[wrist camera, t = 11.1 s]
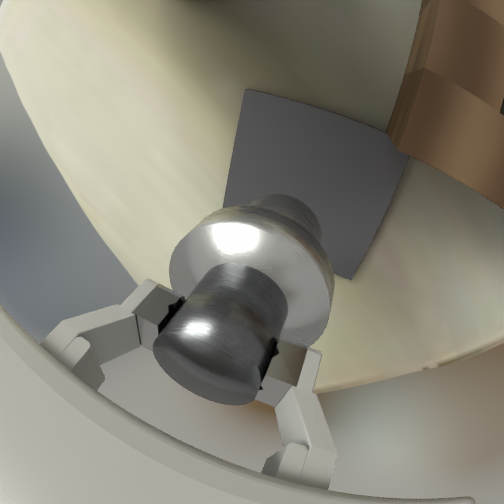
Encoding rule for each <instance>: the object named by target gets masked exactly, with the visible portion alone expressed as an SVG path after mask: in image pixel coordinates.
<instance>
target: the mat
mask: <svg viewBox="0 0 504 504" xmlns="http://www.w3.org/2000/svg"><path fill="white" fill-rule="evenodd" d="M409 156H410V155H408V154H406V153H403V152H401V151H399V150H397V148H396V147H395V145H394V144H393V142H392V141H391V139H390V138H389V136H388V135H387V133H386V132H384V131H381V130H379V129H376V128H374V127H372V126H369V125H367V124H364V123H361V122H359V121H356V120H353V119H351V118H348V117H345V116H342V115H340V114H337V113H334V112H331V111H328V110H325V109H322V108H319V107H315V106H312V105H309V104H306V103H302V102H299V101H295V100H292V99H288V98H284V97H280V96H276V95H272V94H268V93H264V92H260V91H255V90H251V89H245V93H244V98H243V103H242V108H241V112H240V117H239V122H238V127H237V132H236V137H235V143H234V148H233V153H232V158H231V164H230V169H229V175H228V180H227V186H226V191H225V197H224V203H223V208H227V207H232V206H249V205H250V204H251V203H252V202H253V201H254V200H256V199H258V198H259V197H262V196H265V195H269V194H283V195H288V196H291V197H294V198H296V199H298V200H300V201H302V202H303V203H304V204H306V205H307V206H308V207H309V208H310V209H311V210H312V211H313V212H314V214H315V215H316V217H317V219H318V221H319V223H320V226H321V231H322V241H321V246H322V247H323V249H324V251H325V252H326V254H327V256H328V258H329V260H330V263H331V265H332V269H333V273H334V274H336V275H339V276H341V277H344V278H347V279H349V280H351V279H352V277H353V276H354V274H355V272H356V270H357V268H358V266H359V264H360V263H361V261H362V259H363V257H364V255H365V253H366V251H367V249H368V247H369V245H370V243H371V241H372V239H373V237H374V235H375V233H376V231H377V229H378V227H379V225H380V223H381V221H382V219H383V216H384V214H385V212H386V210H387V208H388V206H389V203H390V201H391V199H392V197H393V194H394V192H395V190H396V188H397V185H398V183H399V181H400V178H401V176H402V173H403V171H404V169H405V166H406V164H407V161H408V159H409Z"/></svg>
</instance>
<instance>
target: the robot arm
mask: <svg viewBox="0 0 504 504" xmlns="http://www.w3.org/2000/svg"><path fill="white" fill-rule="evenodd" d="M184 301H185V297H184V296H182V295H180V294H178V293H176V292H174V291H172V290H171V289H169V288H167V287H165V286H163V285H161V284H159V283H157V282H155V281H153V280H151V279H147V280H145V281H143V282H142V283H141V284H140V286H139V287H138V288H137V289H136V290H135V291H134V292H133V293H132V294H131V295H130V296H129V297H128V298H127V299H126V300H125V301H124V302H123V303H122V304H121V305H120V306H119V305H113V306H110V307H106V308H103V309H100V310H96V311H93V312H90V313H86V314H83V315H80V316H77V317H74V318H70V319H67V320H63V321H62V322H61V323H60V324H59V325H58V326H57V327H56V328H55V329H54V330H53V331H52V332H51V333H50V334H49V335H48V336H47V337H46V338H45V339H44V340H43V341H42V342H41V343H40V344H38V343H37V342H36V341H35V340H34V339H33V338H32V337H31V336H30V335H29V334H28V333H27V332H26V331H25V330H24V329H23V328H22V327H21V326H20V325H19V324H18V323H17V322H16V321H15V320H14V319H13V318H12V317H11V316H10V315H9V313H8V312H7V311H6V310H5V309H4V308H3V307H2V306H1V305H0V504H476V502H475V500H474V499H473V498H472V497H456V498H455V497H454V498H439V499H400V498H384V497H372V496H363V495H355V494H348V493H342V492H335V491H330V490H328V488H329V484H330V481H331V477H332V473H333V470H334V466H335V462H336V458H337V454H338V453H337V450H336V447H335V444H334V442H333V439H332V436H331V433H330V430H329V428H328V425H327V422H326V419H325V416H324V414H323V411H322V408H321V405H320V402H319V400H318V397H317V394H315V393H313V389H314V385H315V381H316V377H317V373H318V369H319V365H320V361H321V356H322V353H321V352H320V351H318V350H315V349H312V348H309V347H307V346H305V345H302V344H299V343H296V342H294V341H291V340H288V339H285V338H283V337H280V338H279V339H278V341H277V344H276V346H275V349H274V351H273V354H272V357H271V360H270V363H269V365H268V367H267V369H266V372H265V374H264V377H263V379H262V382H261V385H260V388H259V390H258V393H257V395H256V398H255V399H256V400H258V401H261V402H263V403H266V404H268V405H271V406H273V407H275V411H276V416H277V421H278V426H279V431H280V435H281V440H282V445H283V448H282V449H281V450H279V451H278V452H276V453H275V454H273V455H272V456H270V457H269V458H267V460H266V462H265V464H264V467H263V469H262V472H261V473H259V472H256V471H253V470H250V469H247V468H244V467H242V466H239V465H236V464H233V463H230V462H228V461H226V460H223V459H221V458H218V457H216V456H213V455H211V454H209V453H206V452H204V451H202V450H199V449H197V448H195V447H193V446H191V445H188V444H186V443H184V442H182V441H180V440H178V439H176V438H174V437H172V436H170V435H168V434H167V433H165V432H163V431H161V430H159V429H157V428H155V427H154V426H152V425H150V424H148V423H146V422H145V421H143V420H141V419H140V418H138V417H136V416H135V415H133V414H131V413H130V412H128V411H126V410H125V409H123V408H122V407H120V406H119V405H117V404H115V403H114V402H112V401H111V400H109V399H108V398H106V397H105V396H104V395H102V394H101V393H99V392H98V391H97V390H98V388H99V387H100V385H101V384H102V383H103V382H104V380H105V376H104V374H103V372H102V370H101V367H100V365H101V364H103V363H106V362H108V361H110V360H112V359H114V358H117V357H119V356H121V355H123V354H125V353H127V352H129V351H132V350H134V349H136V348H138V347H140V345H141V346H143V347H145V348H147V349H149V350H151V351H153V343H154V341H155V339H156V338H157V337H158V335H159V334H160V333H161V331H162V330H163V329H164V327H165V326H166V325H167V323H168V322H169V321H170V320H171V318H172V317H173V316H174V314H175V313H176V312H177V310H178V309H179V308H180V306H181V305H182V304H183V302H184Z"/></svg>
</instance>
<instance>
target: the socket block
mask: <svg viewBox="0 0 504 504" xmlns="http://www.w3.org/2000/svg"><path fill="white" fill-rule="evenodd" d="M503 99H504V0H422V5H421V10H420V15H419V20H418V24H417V28H416V33H415V37H414V41H413V45H412V49H411V53H410V56H409V60H408V64H407V67H406V71H405V74H404V78H403V81H402V84H401V88H400V91H399V94H398V97H397V101H396V104H395V107H394V110H393V113H392V116H391V119H390V122H389V125H388V128H387V131H386V133H387V135H388V136H389V138H390V139H391V141H392V142H393V144H394V145H395V147H396V148H397V150H399V151H401V152H403V153H406V154H408V155H410V156H412V157H414V158H416V159H418V160H420V161H422V162H424V163H426V164H428V165H430V166H432V167H434V168H436V169H438V170H440V171H441V172H443V173H445V174H447V175H449V176H451V177H452V178H454V179H456V180H458V181H459V182H461V183H463V184H465V185H466V186H468V187H470V188H471V189H473V190H475V191H476V192H478V193H479V194H481V195H483V196H484V197H486V198H487V199H489V200H490V201H492V202H493V203H495V204H496V205H498V206H499V207H501V208H502V209H504V115H502V114H501V113H500V109H501V106H502V102H503Z"/></svg>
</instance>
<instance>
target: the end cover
mask: <svg viewBox="0 0 504 504" xmlns="http://www.w3.org/2000/svg"><path fill="white" fill-rule="evenodd" d="M321 241H322V231H321V226H320V223H319V221H318V219H317V217H316V215H315V214H314V212H313V211H312V210H311V209H310V208H309V207H308V206H307V205H306V204H304V203H303V202H302V201H300V200H298V199H296V198H294V197H291V196H288V195H283V194H269V195H265V196H262V197H259V198H258V199H256V200H254V201H253V202H252V203H251V204H250V205H249V206H232V207H227V208H223V209H220V210H218V211H216V212H213V213H212V214H210V215H208V216H207V217H205V218H204V219H203V220H202V221H201V222H200V223H199V224H198V225H197V226H195V227H194V228H193V229H192V230H191V231H190V232H189V233H188V234H187V235H186V236H185V237H184V238H183V239H182V240H181V241H180V242H179V243H178V245H177V246H176V247H175V249H174V251H173V253H172V256H171V260H170V266H169V276H170V282H171V287H172V290H173V291H174V292H176V293H178V294H180V295H182V296H184V297H185V301H184V302H183V304H182V305H181V306H180V308H179V309H178V310H177V312H176V313H175V314H174V316H173V317H172V318H171V320H170V321H169V322H168V323H167V325H166V326H165V327H164V329H163V330H162V331H161V333H160V334H159V335H158V337H157V338H156V339H155V341H154V343H153V353H154V355H155V358H156V360H157V362H158V363H159V365H160V366H161V367H162V368H163V369H164V371H165V372H166V373H167V374H168V375H169V376H170V377H171V378H172V379H173V380H175V381H176V382H177V383H179V384H180V385H181V386H183V387H184V388H186V389H187V390H189V391H191V392H193V393H194V394H196V395H198V396H201V397H203V398H205V399H208V400H211V401H214V402H217V403H221V404H226V405H244V404H247V403H250V402H252V401H253V400H254V399H255V398H256V395H257V393H258V390H259V388H260V385H261V382H262V379H263V377H264V374H265V372H266V369H267V367H268V365H269V363H270V360H271V357H272V354H273V351H274V349H275V346H276V344H277V341H278V339H279V338H280V337H283V338H285V339H288V340H291V341H294V342H296V343H299V344H302V345H305V346H307V347H309V346H311V345H312V344H313V343H315V342H316V341H317V340H318V339H319V337H320V336H321V335H322V333H323V332H324V330H325V328H326V326H327V322H328V319H329V314H330V309H331V304H332V299H333V293H334V273H333V269H332V265H331V263H330V260H329V258H328V256H327V254H326V252H325V251H324V249H323V247H322V246H321Z"/></svg>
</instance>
